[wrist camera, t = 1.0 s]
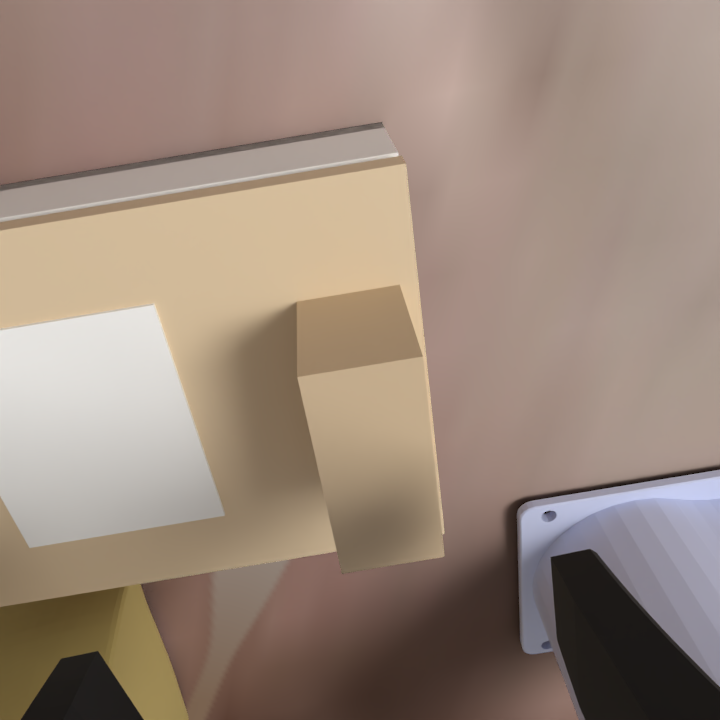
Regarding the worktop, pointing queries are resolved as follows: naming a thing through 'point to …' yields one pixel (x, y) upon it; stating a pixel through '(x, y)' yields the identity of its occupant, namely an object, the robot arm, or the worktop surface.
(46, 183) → the box
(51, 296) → the lid
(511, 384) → the worktop surface
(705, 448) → the worktop surface
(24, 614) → the cheese
